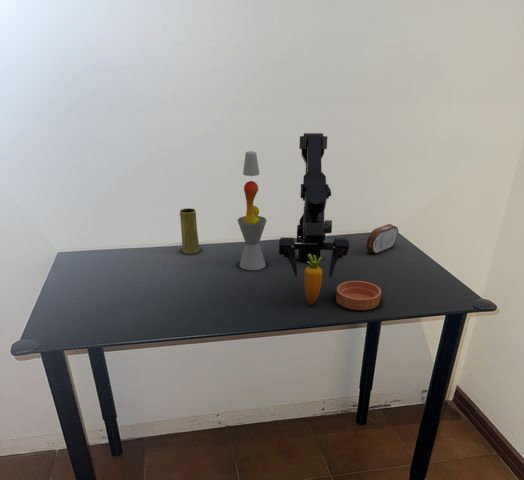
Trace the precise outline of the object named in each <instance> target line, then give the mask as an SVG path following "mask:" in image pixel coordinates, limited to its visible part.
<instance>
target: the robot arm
mask: <svg viewBox="0 0 524 480" xmlns="http://www.w3.org/2000/svg"><path fill="white" fill-rule="evenodd" d="M298 144H299V147H298V148H299V150H300V151H301V153H300V154H301V158H302V159H303V161H304V163H305V174H304V175H303V179H302V180H303V181H302V182H303V183H301V184H300V195H299V196H300V199H302V201H303V202H304V203H303V213H302V215H301V216H300V219H299V221H298V223H299V224H297V225H296V241H295V238H294V237H280V238H279V240H278V255H280V256H283V258H285V259H286V258H287V260H288V262H289V264H290V266H291V268H292V271H293V274H294V276H295V277H298V267H297V261H299V262H302V263H305V264H306V263H307V262H308V261H309V262H310V260H309V258H308V256H307V255H308V254H311V256H312V258H313V255H316V259H317V261H318V259H319V258H320V257H322V256H321V251H332V253H331V258H330V266H329V278H331V277H332V275H333V273H334V269H335V267H336V264H337V262H338V261H339V259H343V257H344V256H345V257H346V256H348V254H349V250H350V240H349V238H347V237H343V238H342V237H334V238H333V242H325V241H326V234H331V233H332V232H333V220H332V219H331V220H328V219H325V209H326V205H327V200H328V199H329V198H330V197H331V196H332V190H331V188H330V186H329V184H328V183H327V176H326V174H325V173H323V171H322V159H323V157H324V154H325V150H327V149H328V136H327V135H324V133H322V132H319V133H317V132H314V133H313V132H303V135H301V136H299V143H298ZM297 250H298V256H297V257H296V251H297ZM313 261H314V258H313ZM310 263H311V262H310ZM307 264H308V263H307Z"/></svg>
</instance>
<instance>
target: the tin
mask: <svg viewBox="0 0 524 480" xmlns="http://www.w3.org/2000/svg"><path fill="white" fill-rule="evenodd" d="M398 235H399V227H397V226H396V225H393V224H392V223H388V224H385V225H382V226H379V227H376V228H374V229H373V230H372V231H371V232H370V233H369V235H368V237H367V241H366V250H367V252H369V253H371V254H375V255H376V254H380V253H382V252H384V251H387V250H389V249H391V248H392V247H393V246H394V245H395V244H396V242H397V239H398Z"/></svg>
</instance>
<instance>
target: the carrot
mask: <svg viewBox="0 0 524 480" xmlns="http://www.w3.org/2000/svg"><path fill="white" fill-rule="evenodd" d="M307 256H308V258H309V260H310V262H311V263H310V262H309V261H308V262H307V264H308V266H306V268H305V269H304V272H303V274H304V275H303V285H304V294H305V296H306V299H307V302H308V304H309V305H310V306H313V305H314V304H315V303H316V301H317V300H318V297H319V296H320V292H321V288H322V283H323V274H324V273H323V272H324V271H323V269H322V267H320V266H319V264H321V262H322V260H323V259H324V257H323V256H321V257H320V258H319V259H318V261H317V259H316V255H313V258H314V261H313V258H312V256H311V254H308V255H307Z"/></svg>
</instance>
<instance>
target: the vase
mask: <svg viewBox="0 0 524 480" xmlns="http://www.w3.org/2000/svg"><path fill="white" fill-rule="evenodd" d="M179 218H180V232H181V233H180V234H181V247H182V248H181V252H182V253H183V254H186V255H195V254H198V253H200V251H201V248H200V244H199V234H198V223H197V212H196V209H194V208H192V207H188V208H182V209H180V210H179Z"/></svg>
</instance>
